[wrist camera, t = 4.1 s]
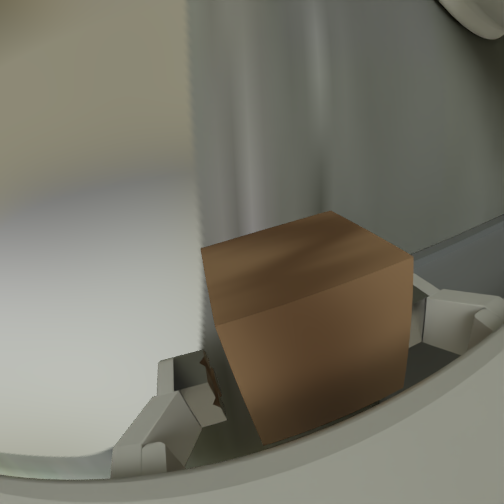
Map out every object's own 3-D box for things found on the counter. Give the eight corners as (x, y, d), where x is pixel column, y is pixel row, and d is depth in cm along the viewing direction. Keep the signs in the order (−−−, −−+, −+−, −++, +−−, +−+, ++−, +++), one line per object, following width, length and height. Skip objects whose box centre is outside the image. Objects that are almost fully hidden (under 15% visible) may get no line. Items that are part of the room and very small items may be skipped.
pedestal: (509, 211, 14) (583, 242, 8) (487, 343, 18) (535, 384, 13) (382, 266, 13) (478, 338, 7) (378, 410, 17) (423, 476, 12)
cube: (329, 210, 12) (413, 256, 7) (342, 315, 13) (403, 387, 9) (200, 248, 11) (214, 326, 6) (235, 353, 13) (263, 445, 8)
